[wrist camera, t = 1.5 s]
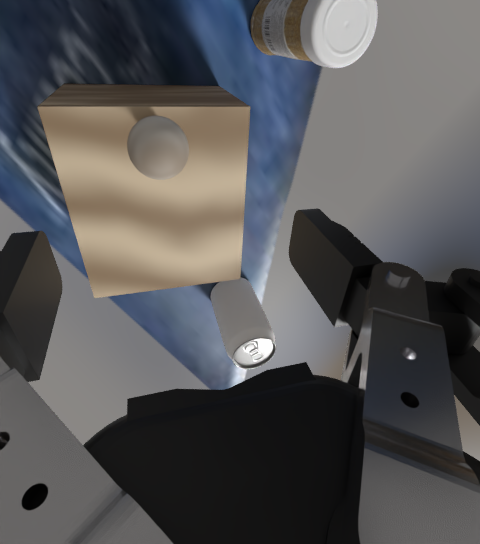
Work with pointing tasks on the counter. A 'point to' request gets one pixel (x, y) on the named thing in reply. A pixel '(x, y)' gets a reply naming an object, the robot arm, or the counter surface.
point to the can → (243, 324)
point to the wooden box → (140, 95)
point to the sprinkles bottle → (315, 29)
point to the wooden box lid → (152, 191)
